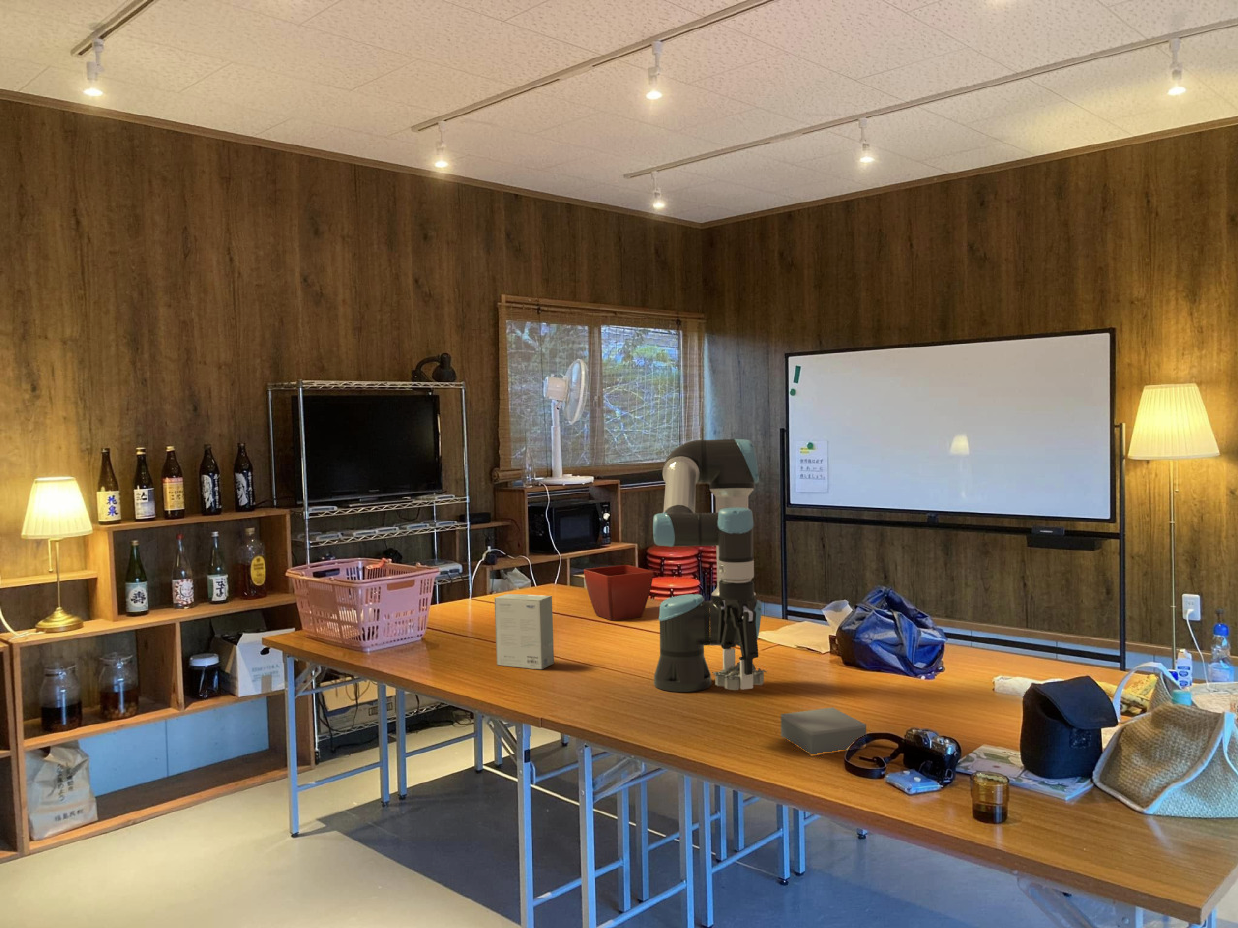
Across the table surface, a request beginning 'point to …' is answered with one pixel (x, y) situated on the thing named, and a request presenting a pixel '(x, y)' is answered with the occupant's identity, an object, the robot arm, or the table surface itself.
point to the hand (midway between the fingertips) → (737, 682)
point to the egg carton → (736, 677)
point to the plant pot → (618, 591)
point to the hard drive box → (524, 631)
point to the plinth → (821, 730)
